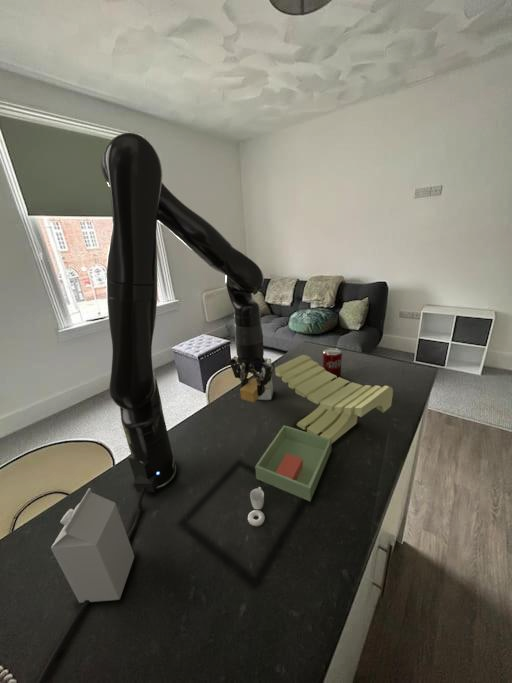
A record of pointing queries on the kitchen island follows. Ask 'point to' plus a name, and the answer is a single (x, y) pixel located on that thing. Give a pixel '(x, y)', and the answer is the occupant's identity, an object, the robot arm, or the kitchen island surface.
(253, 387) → the block
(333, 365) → the soda can
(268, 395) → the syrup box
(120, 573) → the milk carton
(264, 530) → the kitchen island surface
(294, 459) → the block
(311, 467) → the basket
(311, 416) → the slatted curved stool
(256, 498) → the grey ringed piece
